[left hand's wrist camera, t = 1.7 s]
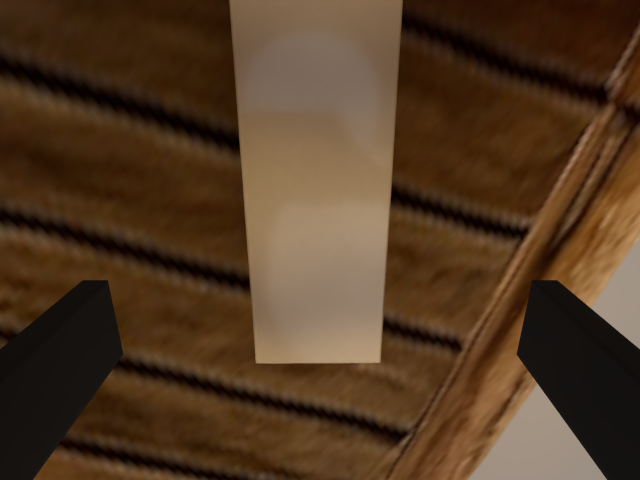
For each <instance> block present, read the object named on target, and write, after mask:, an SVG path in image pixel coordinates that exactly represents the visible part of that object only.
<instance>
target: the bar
mask: <svg viewBox="0 0 640 480" xmlns="http://www.w3.org/2000/svg"><path fill="white" fill-rule="evenodd" d="M229 4H230V18H231V32H232V45H233V59H234V73H235V86H236V100H237V114H238V127H239V141H240V155H241V168H242V182H243V196H244V209H245V223H246V237H247V250H248V264H249V278H250V291H251V305H252V318H253V332H254V346H255V359H256V363H380V361H381V347H382V330H383V314H384V298H385V282H386V266H387V250H388V233H389V217H390V201H391V185H392V169H393V153H394V136H395V120H396V104H397V88H398V72H399V56H400V39H401V23H402V7H403V0H229Z"/></svg>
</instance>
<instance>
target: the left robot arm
mask: <svg viewBox="0 0 640 480" xmlns="http://www.w3.org/2000/svg"><path fill="white" fill-rule="evenodd" d="M122 356H123V351H122V346H121V341H120V337H119V332H118V327H117V322H116V318H115V313H114V308H113V303H112V299H111V294H110V289H109V285H108V280H83V281H82V282H80V283H79V284H78V285H77V286H76V287H74V288H73V289H72V290H71V291H70V292H68V293H67V294H66V295H65V296H64V297H62V298H61V299H60V300H59V301H58V302H56V303H55V304H54V305H53V306H52V307H50V308H49V309H48V310H47V311H46V312H44V313H43V314H42V315H41V316H40V317H38V318H37V319H36V320H35V321H34V322H32V323H31V324H30V325H29V326H28V327H26V328H25V329H24V330H23V331H22V332H21V333H19V334H18V335H17V336H16V337H15V338H13V339H12V340H11V341H10V342H9V343H7V344H6V345H5V346H4V347H3V348H1V349H0V480H33V479H34V477H35V476H36V475H37V473H38V472H39V470H40V469H41V468H42V466H43V465H44V463H45V462H46V461H47V459H48V458H49V457H50V455H51V454H52V452H53V451H54V450H55V448H56V447H57V445H58V444H59V443H60V441H61V440H62V439H63V437H64V436H65V434H66V433H67V432H68V430H69V429H70V427H71V426H72V425H73V423H74V422H75V421H76V419H77V418H78V416H79V415H80V414H81V412H82V411H83V410H84V408H85V407H86V405H87V404H88V403H89V401H90V400H91V398H92V397H93V396H94V394H95V393H96V392H97V390H98V389H99V387H100V386H101V385H102V383H103V382H104V380H105V379H106V378H107V376H108V375H109V374H110V372H111V371H112V369H113V368H114V367H115V365H116V364H117V362H118V361H119V360H120V358H121V357H122ZM517 356H518V357H519V358H520V360H521V361H522V362H523V364H524V365H525V367H526V368H527V369H528V371H529V372H530V374H531V375H532V376H533V378H534V379H535V380H536V382H537V383H538V385H539V386H540V387H541V389H542V390H543V392H544V393H545V394H546V396H547V397H548V398H549V400H550V401H551V403H552V404H553V405H554V407H555V408H556V410H557V411H558V412H559V414H560V415H561V416H562V418H563V419H564V421H565V422H566V423H567V425H568V426H569V428H570V429H571V430H572V432H573V433H574V434H575V436H576V437H577V439H578V440H579V441H580V443H581V444H582V445H583V447H584V448H585V450H586V451H587V452H588V454H589V455H590V457H591V458H592V459H593V461H594V462H595V463H596V465H597V466H598V468H599V469H600V470H601V472H602V473H603V475H604V476H605V477H606V479H607V480H640V349H639V348H637V347H636V346H635V345H634V344H633V343H631V342H630V341H629V340H628V339H627V338H625V337H624V336H623V335H622V334H621V333H619V332H618V331H617V330H616V329H615V328H613V327H612V326H611V325H610V324H609V323H608V322H606V321H605V320H604V319H603V318H602V317H600V316H599V315H598V314H597V313H595V312H594V311H593V310H592V309H591V308H590V307H588V306H587V305H586V304H585V303H584V302H582V301H581V300H580V299H579V298H578V297H576V296H575V295H574V294H573V293H572V292H570V291H569V290H568V289H567V288H566V287H564V286H563V285H562V284H561V283H560V282H558V281H557V280H532V285H531V289H530V294H529V299H528V303H527V308H526V313H525V318H524V322H523V327H522V332H521V337H520V341H519V346H518V351H517Z"/></svg>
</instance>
